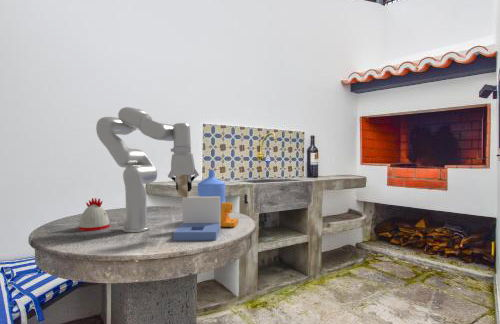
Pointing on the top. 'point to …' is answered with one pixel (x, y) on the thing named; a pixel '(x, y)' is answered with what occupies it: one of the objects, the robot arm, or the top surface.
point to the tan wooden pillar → (183, 186)
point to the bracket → (227, 215)
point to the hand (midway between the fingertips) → (184, 190)
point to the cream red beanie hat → (94, 217)
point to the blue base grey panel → (199, 219)
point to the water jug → (212, 188)
